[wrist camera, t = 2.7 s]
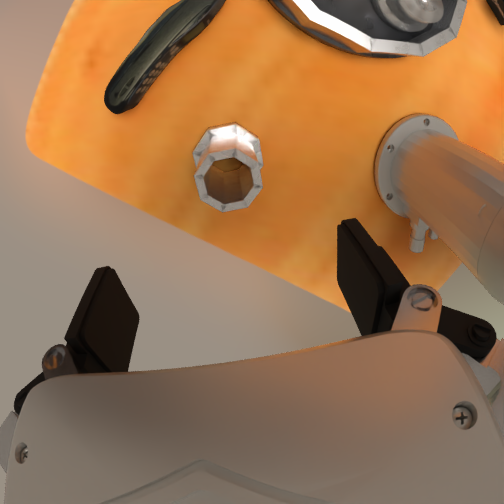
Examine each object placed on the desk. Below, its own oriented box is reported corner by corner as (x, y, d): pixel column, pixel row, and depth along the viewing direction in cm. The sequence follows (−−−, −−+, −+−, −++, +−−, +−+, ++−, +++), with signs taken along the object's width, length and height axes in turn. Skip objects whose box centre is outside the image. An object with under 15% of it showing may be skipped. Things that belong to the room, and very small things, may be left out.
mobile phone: (119, 120, 19) (247, -24, 13) (92, 102, 18) (216, -43, 12) (137, 111, 23) (244, -8, 17) (114, 95, 22) (218, -24, 16)
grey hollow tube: (264, 177, 28) (276, 210, 22) (204, 189, 28) (198, 225, 22) (254, 118, 25) (263, 133, 18) (190, 131, 25) (177, 151, 19)
